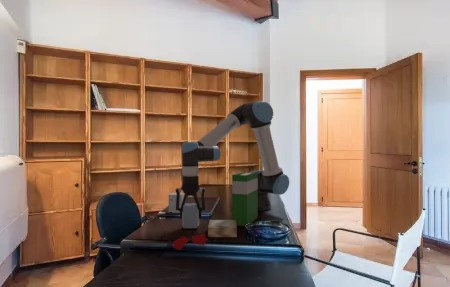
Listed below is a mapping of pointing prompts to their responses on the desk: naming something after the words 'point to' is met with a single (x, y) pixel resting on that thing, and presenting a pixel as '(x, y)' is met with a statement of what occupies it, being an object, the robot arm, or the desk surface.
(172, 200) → the small box
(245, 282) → the desk surface
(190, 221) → the block
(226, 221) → the plinth
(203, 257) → the desk surface
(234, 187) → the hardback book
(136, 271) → the desk surface
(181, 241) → the glasses
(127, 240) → the desk surface
